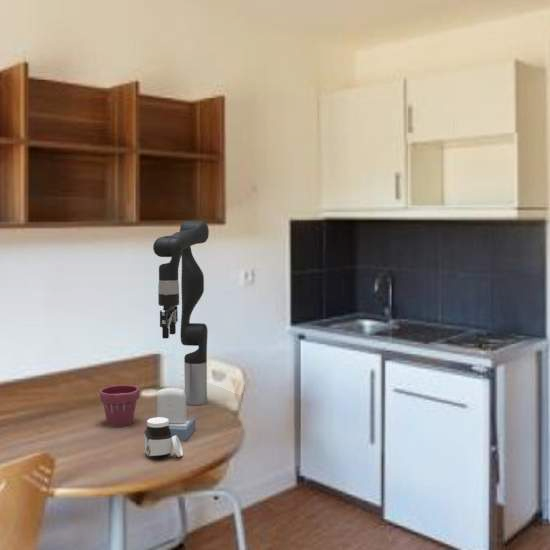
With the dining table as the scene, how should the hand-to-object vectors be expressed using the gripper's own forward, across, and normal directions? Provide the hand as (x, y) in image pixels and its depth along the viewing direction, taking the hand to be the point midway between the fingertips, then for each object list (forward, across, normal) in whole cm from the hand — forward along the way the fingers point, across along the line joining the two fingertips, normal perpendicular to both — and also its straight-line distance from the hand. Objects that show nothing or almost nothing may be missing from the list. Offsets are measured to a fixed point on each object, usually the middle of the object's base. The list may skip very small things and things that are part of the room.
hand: (169, 336), depth 244 cm
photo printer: (+29, +11, +4) cm, 31 cm away
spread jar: (+33, +32, +8) cm, 47 cm away
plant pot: (+33, +1, -19) cm, 38 cm away
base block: (+33, +11, +4) cm, 35 cm away
